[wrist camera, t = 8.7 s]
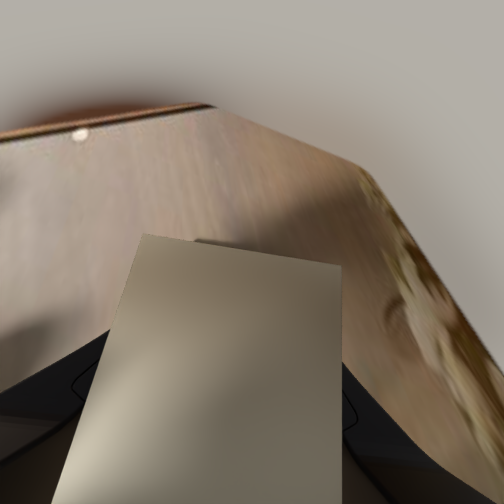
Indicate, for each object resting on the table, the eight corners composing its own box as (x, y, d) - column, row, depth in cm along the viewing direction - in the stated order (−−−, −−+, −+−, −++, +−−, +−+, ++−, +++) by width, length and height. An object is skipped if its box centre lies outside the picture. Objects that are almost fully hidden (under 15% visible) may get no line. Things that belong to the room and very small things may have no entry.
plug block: (254, 344, 14) (342, 541, 2) (203, 337, 14) (46, 515, 2) (260, 293, 15) (341, 265, 4) (214, 286, 15) (142, 233, 3)
